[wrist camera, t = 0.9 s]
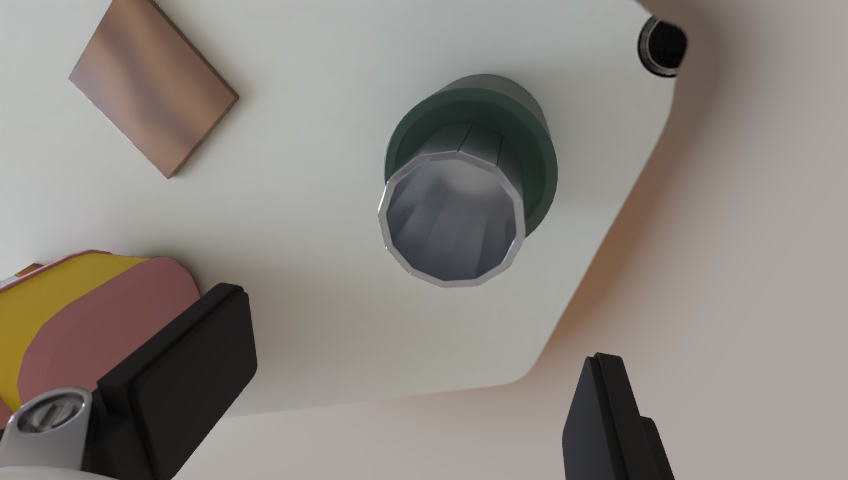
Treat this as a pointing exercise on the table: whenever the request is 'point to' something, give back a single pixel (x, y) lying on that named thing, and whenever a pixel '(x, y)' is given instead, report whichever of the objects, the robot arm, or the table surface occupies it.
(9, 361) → the alarm clock
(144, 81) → the coaster mat
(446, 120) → the dark green cylinder
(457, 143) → the cup
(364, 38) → the table surface
